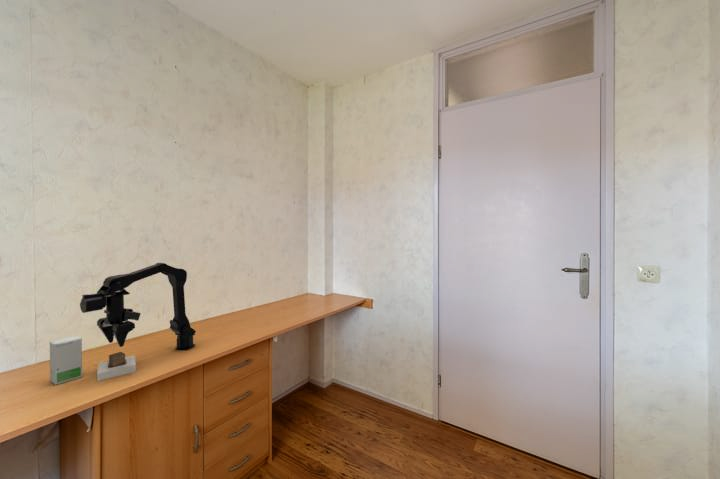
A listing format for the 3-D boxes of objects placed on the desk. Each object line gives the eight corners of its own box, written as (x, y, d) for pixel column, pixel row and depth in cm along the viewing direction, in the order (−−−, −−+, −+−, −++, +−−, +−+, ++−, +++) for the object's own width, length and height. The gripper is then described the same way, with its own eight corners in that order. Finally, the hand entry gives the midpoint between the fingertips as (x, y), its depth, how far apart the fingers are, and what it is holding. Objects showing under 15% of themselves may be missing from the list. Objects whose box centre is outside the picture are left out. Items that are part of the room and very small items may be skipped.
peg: (125, 370, 125) (124, 353, 125) (113, 374, 122) (113, 357, 122) (120, 368, 127) (120, 351, 127) (109, 371, 124) (108, 355, 124)
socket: (135, 361, 133) (134, 355, 133) (136, 371, 124) (135, 364, 123) (99, 369, 126) (99, 362, 125) (97, 381, 116) (97, 373, 116)
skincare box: (54, 385, 113) (53, 344, 112) (49, 381, 116) (47, 341, 116) (83, 376, 120) (82, 337, 120) (78, 372, 124) (76, 334, 123)
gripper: (148, 305, 126) (149, 342, 126) (127, 300, 135) (128, 334, 136) (116, 311, 116) (118, 351, 117) (95, 305, 126) (97, 342, 126)
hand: (116, 344), depth 124 cm, fingers open, 9 cm apart
